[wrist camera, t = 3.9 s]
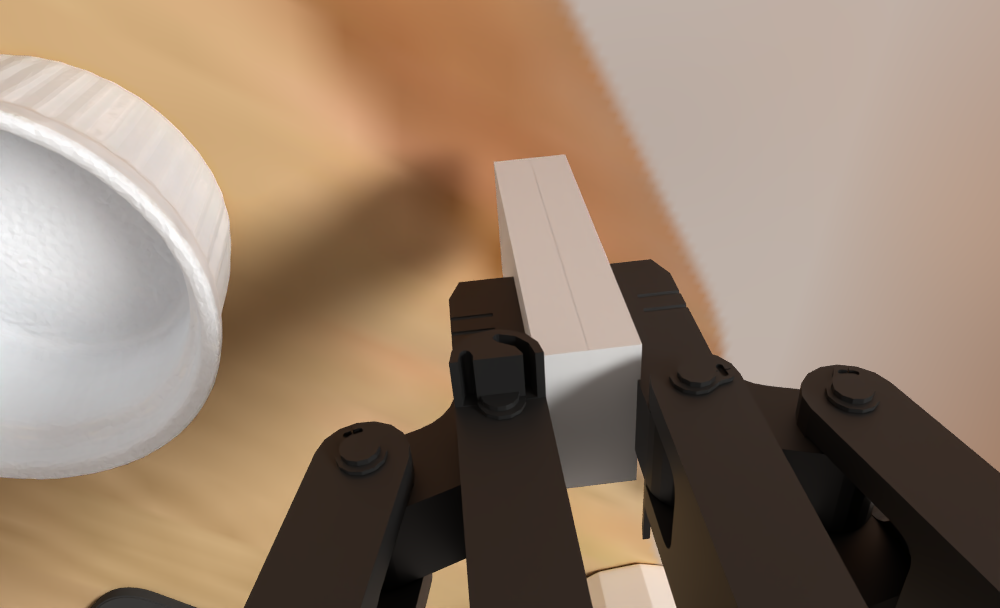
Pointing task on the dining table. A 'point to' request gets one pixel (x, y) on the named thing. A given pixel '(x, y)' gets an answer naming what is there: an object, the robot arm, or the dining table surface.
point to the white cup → (631, 587)
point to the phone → (137, 599)
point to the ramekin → (101, 273)
